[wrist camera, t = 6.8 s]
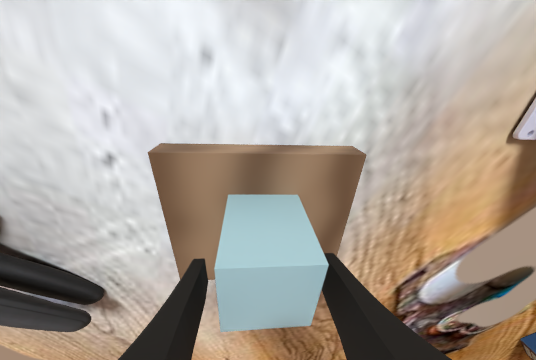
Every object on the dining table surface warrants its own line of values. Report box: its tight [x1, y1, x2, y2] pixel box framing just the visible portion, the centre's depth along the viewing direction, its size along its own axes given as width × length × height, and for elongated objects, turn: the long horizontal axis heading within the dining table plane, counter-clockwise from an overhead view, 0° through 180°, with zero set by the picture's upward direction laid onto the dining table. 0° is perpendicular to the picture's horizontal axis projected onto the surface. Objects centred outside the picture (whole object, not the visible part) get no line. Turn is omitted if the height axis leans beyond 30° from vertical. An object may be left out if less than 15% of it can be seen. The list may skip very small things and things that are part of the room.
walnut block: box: [148, 143, 366, 280], centre depth 16 cm, size 14×12×2 cm
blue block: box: [214, 195, 329, 332], centre depth 12 cm, size 5×5×6 cm
